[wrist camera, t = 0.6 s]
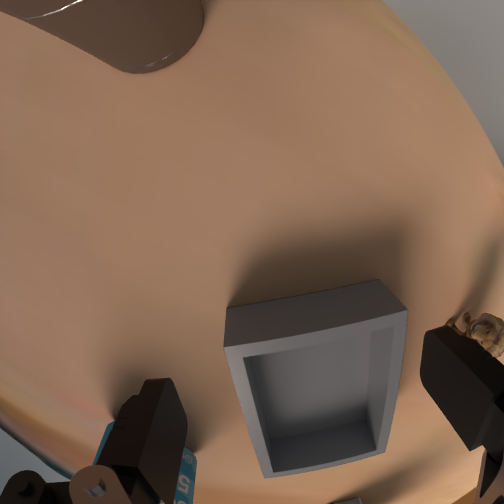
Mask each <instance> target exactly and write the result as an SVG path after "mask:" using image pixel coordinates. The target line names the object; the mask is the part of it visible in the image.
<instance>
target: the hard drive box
mask: <svg viewBox="0 0 504 504" xmlns="http://www.w3.org/2000/svg"><path fill="white" fill-rule="evenodd" d="M334 504H362V502H361V499H360V497H358V498H354V499H350V500H347V501H342V502H338V503H334Z"/></svg>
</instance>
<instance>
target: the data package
mask: <svg viewBox="0 0 504 504" xmlns="http://www.w3.org/2000/svg"><path fill="white" fill-rule="evenodd" d="M114 422H115V421H113V422H111V423H110V424H108V426H107V428H106V430H105V433H104V435H103V438H102V441H101V443H100V446H99V448H98V451H97V454H96V457H95V459H94V462H93V465H96V463H97V460H98V458H99V456H100V453H101V451H102V449H103V447H104V444H105V442H106V440H107V438H108V435H109V433H110V431H111V429H113V424H114ZM196 466H197V460H196V457H195V455H194V454H193V452H192V451H191V450H189V449H188V448H186V447H184V450H183V455H182V460H181V466H180V471H179V476H178V482H177V487H176V493H175V498H174V504H193V496H194V485H195V475H196Z"/></svg>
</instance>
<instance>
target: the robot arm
mask: <svg viewBox="0 0 504 504" xmlns="http://www.w3.org/2000/svg"><path fill="white" fill-rule="evenodd" d="M0 11H1V12H4V13H6V14H8V15H11V16H13V17H16V18H18V19H20V20H23V21H25V22H27V23H29V24H31V25H34V26H36V27H38V28H40V29H42V30H44V31H46V32H48V33H50V34H52V35H54V36H56V37H58V38H60V39H62V40H64V41H66V42H68V43H70V44H72V45H74V46H76V47H78V48H80V49H82V50H83V51H85V52H87V53H89V54H91V55H93V56H95V57H96V58H98V59H100V60H102V61H103V62H105V63H107V64H109V65H111V66H112V67H114V68H116V69H119V70H121V71H123V72H128V73H133V74H137V73H149V72H154V71H157V70H160V69H162V68H165V67H167V66H169V65H171V64H173V63H174V62H176V61H178V60H179V59H180V58H181V57H182V56H184V55H185V54H186V53H187V52H188V51H189V50H190V49H191V47H192V46H193V45H194V44H195V42H196V40H197V39H198V37H199V35H200V32H201V29H202V26H203V17H204V15H203V9H202V5H201V2H200V0H0ZM420 378H421V381H422V384H423V386H424V388H425V389H426V390H427V392H428V393H429V395H430V396H431V397H432V399H433V400H434V401H435V403H436V404H437V405H438V407H439V408H440V410H441V411H442V412H443V414H444V415H445V417H446V418H447V419H448V421H449V422H450V424H451V425H452V426H453V428H454V429H455V431H456V432H457V434H458V435H459V437H460V438H461V439H462V441H463V442H464V444H465V445H466V447H467V448H468V450H469V451H472V450H474V449H476V448H477V447H479V446H481V445H483V446H484V448H485V451H484V453H483V456H482V462H481V468H480V474H479V479H478V484H477V489H476V494H475V498H474V502H473V504H504V365H503V364H502V363H501V362H500V361H498V360H497V359H496V358H495V357H492V354H491V353H489V352H488V351H487V350H485V348H484V347H483V346H481V345H480V344H479V343H478V342H477V341H476V340H473V339H471V338H469V337H466V336H464V335H461V336H460V335H459V334H458V333H457V332H456V331H455V330H454V329H452V328H451V327H450V326H448V325H445V326H442V327H438V328H435V329H432V330H429V331H427V332H426V333H425V335H424V342H423V350H422V359H421V366H420ZM186 435H187V418H186V414H185V412H184V409H183V407H182V404H181V402H180V399H179V396H178V394H177V391H176V389H175V386H174V384H173V381H172V380H171V379H170V378H161V379H147V380H145V382H144V384H143V386H142V389H141V391H140V393H139V395H133V396H132V397H131V398H130V399H128V400H127V401H126V402H125V403H124V404H123V405H122V407H121V409H120V411H119V414H118V416H117V420H115V422H114V424H113V429H111V431H110V433H109V435H108V438H107V440H106V442H105V444H104V447H103V449H102V451H101V453H100V456H99V458H98V460H97V463H96V465H92V466H88V467H85V468H83V469H81V470H79V471H78V472H77V473H76V474H75V475H74V476H73V477H72V479H71V481H69V482H55V483H46V482H45V481H44V479H43V478H42V477H41V476H40V475H39V474H38V473H36V472H34V471H30V470H25V471H21V472H18V473H16V474H15V475H13V476H12V477H11V478H10V479H9V480H8V482H7V484H6V486H5V488H4V490H3V492H2V494H1V496H0V504H174V498H175V493H176V487H177V482H178V476H179V471H180V466H181V460H182V455H183V450H184V445H185V440H186Z"/></svg>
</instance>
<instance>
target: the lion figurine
mask: <svg viewBox="0 0 504 504" xmlns="http://www.w3.org/2000/svg"><path fill="white" fill-rule="evenodd" d="M470 319H471V316H470V314H468V313H467V314H465V315H464V316H463V319H462V321H463V323H464V325H465V327H466V328H467V331H466V332H465V333H462V332H461V331H459V330H458V328H457V327H456V326H455V323H454V321H453V320H449V321H448V322H447V323H446V324H445V325H448V326H450V327H451V328H452V329H454V330H455V331H456V332H457V333H458V334H459V335H460V336H461V335H464V336H466V337H469V338H471V339H473V340H476V341H477V342H478V343H479V344H480V345H481V346H483V347H484V348H485V350H487V351H488V352H489V353H491V354H492V357H495V358H497V357H499V356H501V354H502V353H503V351H504V321H503V320H502V319H500V318H498V317H495V316H493V315H492V314H488V313H484V314H482V315H481V316H480V317H479V318H478V319H475V320H473V321H470Z"/></svg>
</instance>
